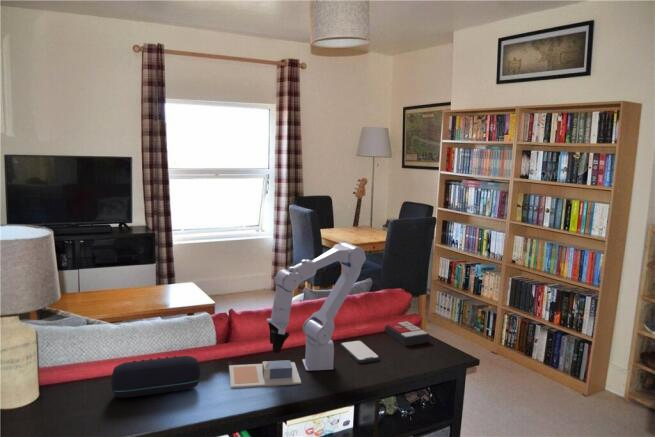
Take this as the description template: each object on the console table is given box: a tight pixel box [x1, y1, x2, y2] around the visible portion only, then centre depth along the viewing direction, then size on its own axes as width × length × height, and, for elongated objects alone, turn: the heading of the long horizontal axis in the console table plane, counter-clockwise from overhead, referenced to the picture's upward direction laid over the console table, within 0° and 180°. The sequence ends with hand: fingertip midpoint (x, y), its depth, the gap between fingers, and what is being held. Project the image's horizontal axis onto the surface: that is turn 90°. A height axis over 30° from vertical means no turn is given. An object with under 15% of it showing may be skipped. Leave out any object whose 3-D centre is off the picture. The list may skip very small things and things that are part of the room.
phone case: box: [340, 340, 380, 364], centre depth 190 cm, size 9×2×16 cm
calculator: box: [384, 321, 430, 347], centre depth 206 cm, size 11×4×15 cm
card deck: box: [262, 359, 292, 379], centre depth 169 cm, size 9×6×3 cm, turn 103°
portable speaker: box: [110, 355, 201, 398], centre depth 155 cm, size 25×10×10 cm, turn 111°
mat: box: [228, 361, 302, 389], centre depth 169 cm, size 22×14×1 cm, turn 103°
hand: (274, 347), depth 167 cm, fingers open, 7 cm apart
